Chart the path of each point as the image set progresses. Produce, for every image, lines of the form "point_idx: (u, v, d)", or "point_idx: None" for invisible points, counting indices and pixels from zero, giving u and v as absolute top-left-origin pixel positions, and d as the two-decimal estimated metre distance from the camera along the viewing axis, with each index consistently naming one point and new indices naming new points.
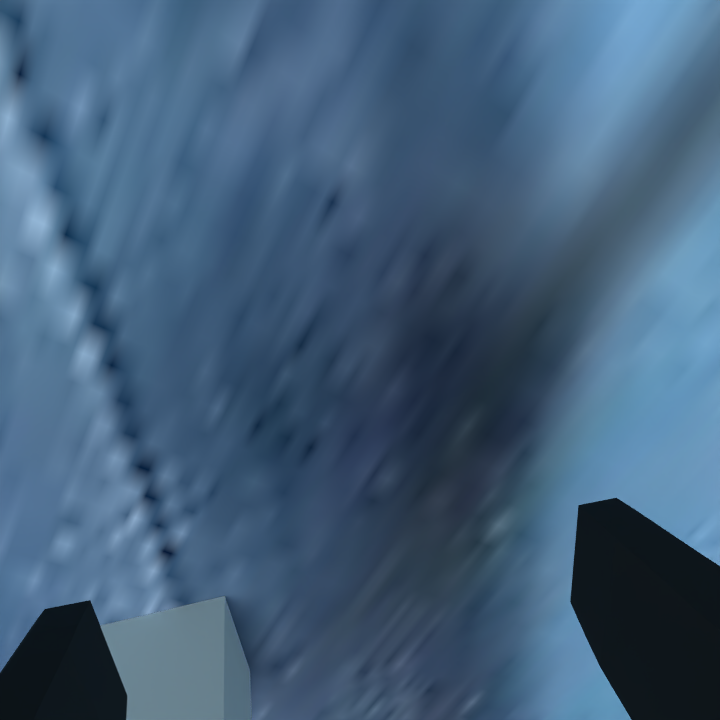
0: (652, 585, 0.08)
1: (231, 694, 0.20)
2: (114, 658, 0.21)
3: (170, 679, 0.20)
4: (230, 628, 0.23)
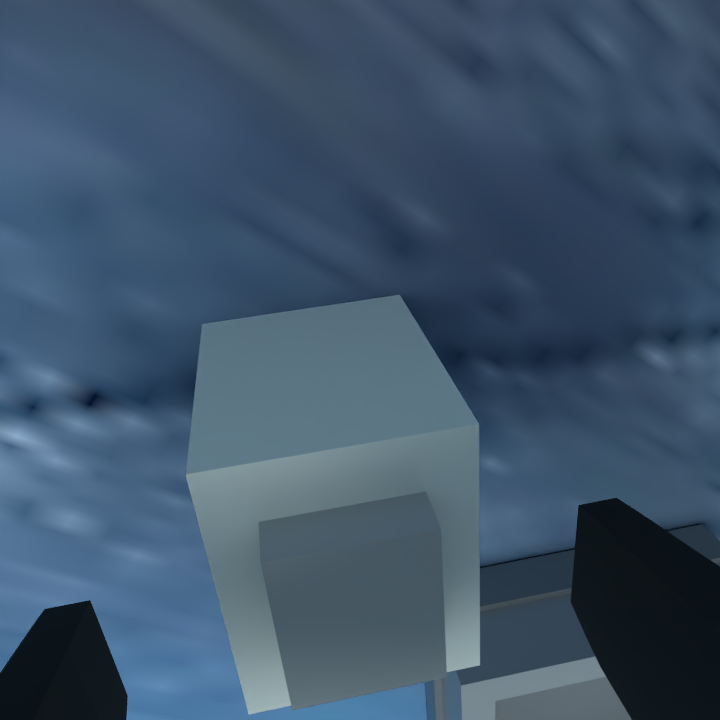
0: (652, 585, 0.08)
1: (256, 393, 0.10)
2: None
3: None
4: (246, 331, 0.12)
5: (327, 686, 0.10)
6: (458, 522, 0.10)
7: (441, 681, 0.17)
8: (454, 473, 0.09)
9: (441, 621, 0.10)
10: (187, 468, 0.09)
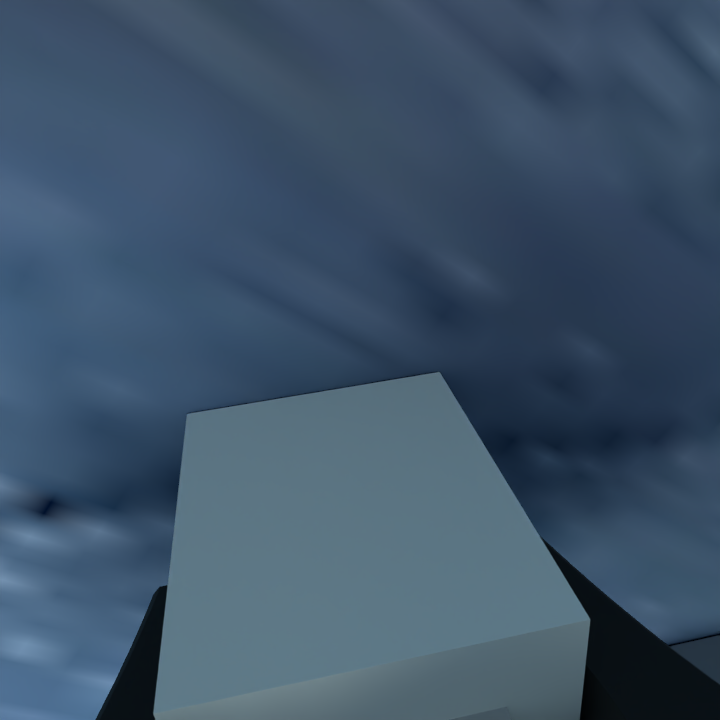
0: None
1: (258, 545, 0.07)
2: None
3: None
4: (244, 429, 0.10)
5: None
6: None
7: None
8: (548, 682, 0.06)
9: None
10: (156, 700, 0.06)
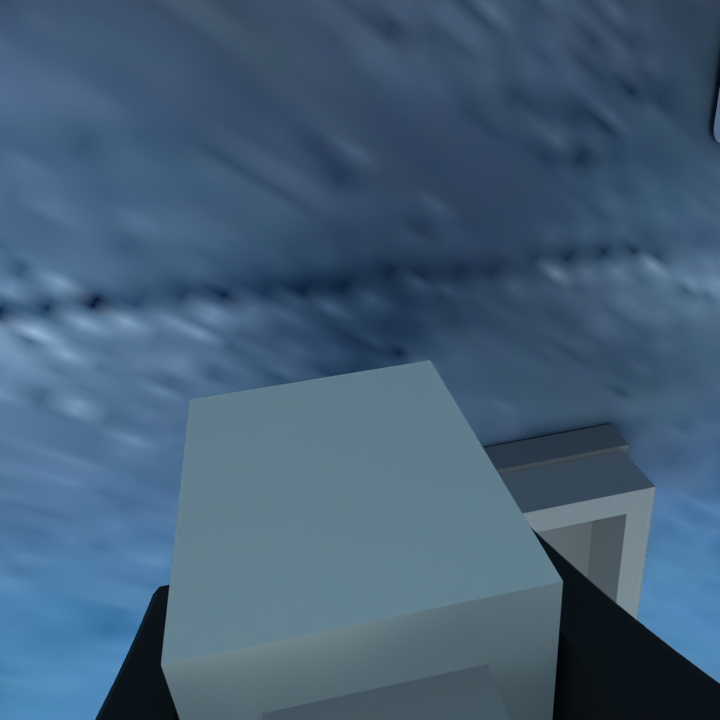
0: None
1: (257, 517, 0.08)
2: None
3: None
4: (244, 413, 0.10)
5: None
6: (527, 695, 0.07)
7: None
8: (524, 641, 0.07)
9: None
10: (163, 653, 0.06)
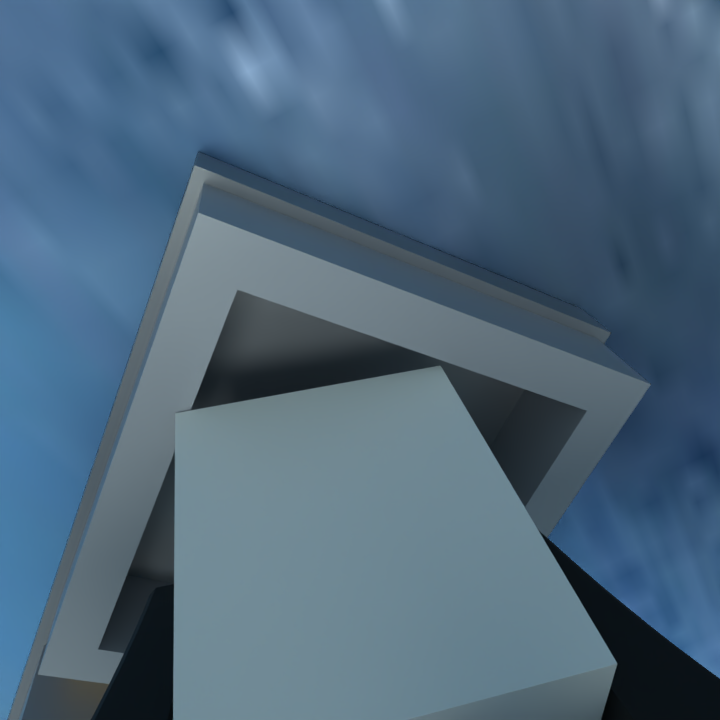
0: None
1: (267, 575, 0.07)
2: None
3: None
4: (239, 433, 0.09)
5: None
6: None
7: (157, 313, 0.11)
8: (568, 717, 0.06)
9: None
10: None
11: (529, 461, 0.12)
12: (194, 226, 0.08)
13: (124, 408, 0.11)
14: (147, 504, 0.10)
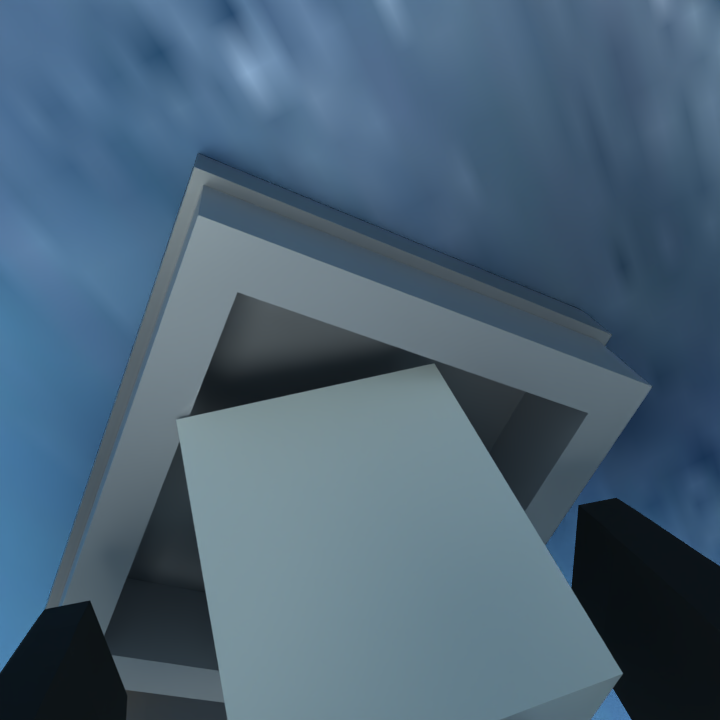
0: (652, 585, 0.08)
1: (298, 599, 0.07)
2: None
3: None
4: (245, 442, 0.09)
5: None
6: None
7: (157, 315, 0.11)
8: (574, 712, 0.07)
9: None
10: None
11: (530, 463, 0.12)
12: (194, 228, 0.08)
13: (123, 411, 0.11)
14: (147, 507, 0.10)
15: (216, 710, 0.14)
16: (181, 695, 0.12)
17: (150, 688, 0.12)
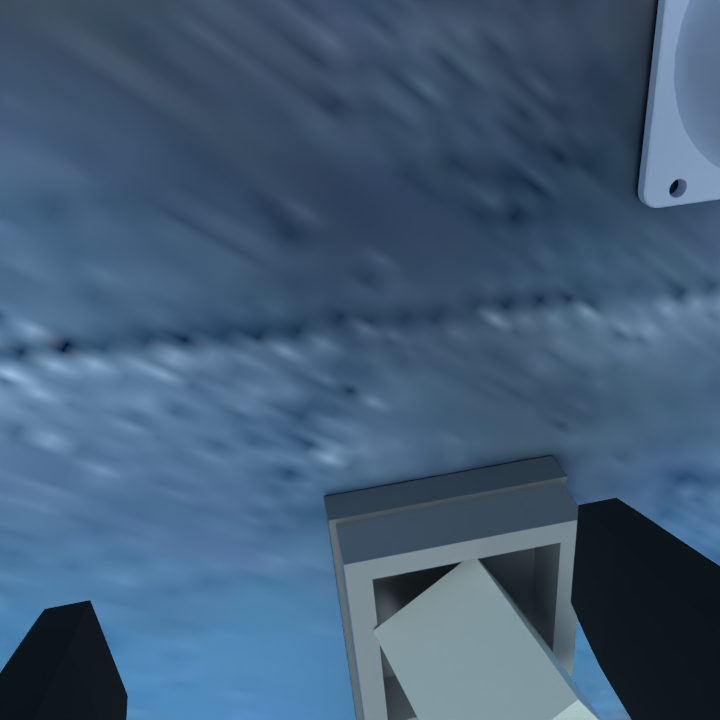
0: (652, 585, 0.08)
1: (449, 705, 0.18)
2: None
3: None
4: (405, 633, 0.20)
5: None
6: (582, 719, 0.18)
7: (342, 576, 0.22)
8: (573, 714, 0.18)
9: None
10: None
11: (550, 564, 0.22)
12: (344, 568, 0.20)
13: (347, 615, 0.23)
14: (378, 663, 0.22)
15: None
16: None
17: None
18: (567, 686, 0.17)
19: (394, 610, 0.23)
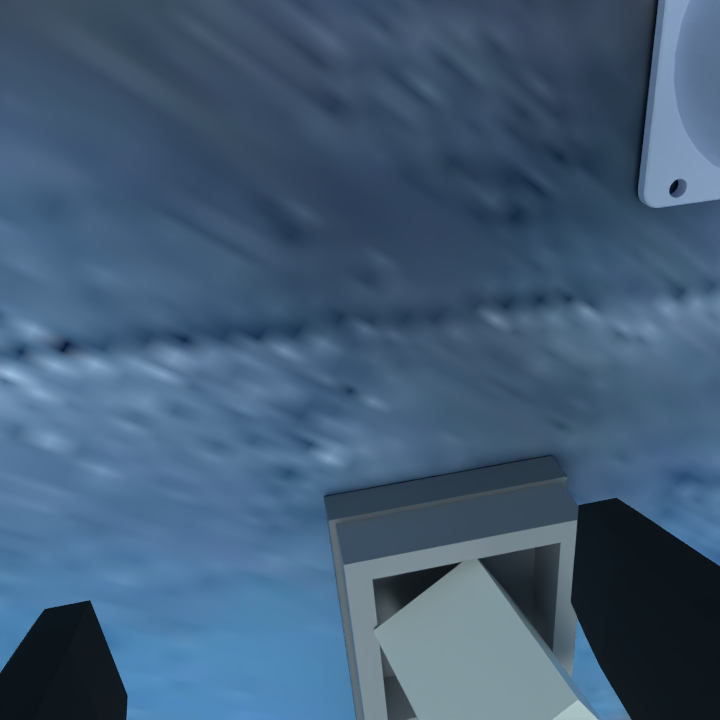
0: (652, 585, 0.08)
1: (449, 705, 0.18)
2: None
3: None
4: (405, 633, 0.20)
5: None
6: None
7: (342, 576, 0.22)
8: (573, 714, 0.18)
9: None
10: None
11: (550, 564, 0.22)
12: (344, 568, 0.20)
13: (347, 615, 0.23)
14: (378, 663, 0.22)
15: None
16: None
17: None
18: (567, 686, 0.17)
19: (394, 610, 0.23)
